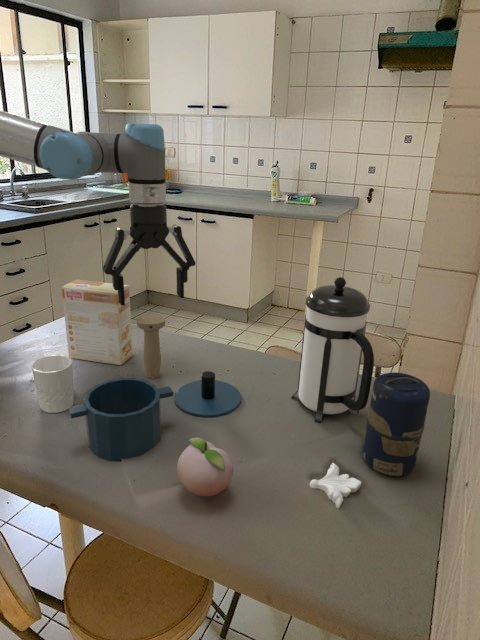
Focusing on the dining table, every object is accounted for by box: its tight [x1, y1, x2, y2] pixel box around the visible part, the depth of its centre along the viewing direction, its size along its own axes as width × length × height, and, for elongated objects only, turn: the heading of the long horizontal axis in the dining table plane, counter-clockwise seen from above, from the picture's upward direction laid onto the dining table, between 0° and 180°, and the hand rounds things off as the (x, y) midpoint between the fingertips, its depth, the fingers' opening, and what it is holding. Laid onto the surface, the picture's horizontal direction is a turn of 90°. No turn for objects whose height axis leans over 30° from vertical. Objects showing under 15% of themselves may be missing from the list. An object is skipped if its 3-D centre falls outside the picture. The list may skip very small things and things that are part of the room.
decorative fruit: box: [176, 437, 235, 497], centre depth 75 cm, size 9×8×10 cm
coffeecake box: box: [61, 279, 134, 366], centre depth 118 cm, size 15×7×20 cm, turn 77°
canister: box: [362, 372, 431, 477], centre depth 83 cm, size 10×10×18 cm
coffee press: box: [291, 276, 375, 424], centre depth 96 cm, size 17×16×30 cm
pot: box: [68, 377, 174, 462], centre depth 88 cm, size 14×19×10 cm
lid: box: [174, 370, 242, 418], centre depth 102 cm, size 15×15×7 cm
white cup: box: [31, 354, 75, 414], centre depth 98 cm, size 8×8×10 cm
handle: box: [136, 315, 166, 380], centre depth 109 cm, size 5×6×15 cm
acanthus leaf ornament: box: [309, 462, 362, 510], centre depth 79 cm, size 8×7×2 cm
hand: (151, 299), depth 104 cm, fingers open, 13 cm apart
